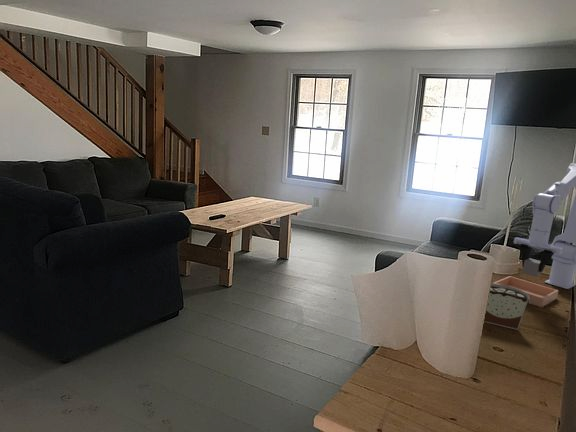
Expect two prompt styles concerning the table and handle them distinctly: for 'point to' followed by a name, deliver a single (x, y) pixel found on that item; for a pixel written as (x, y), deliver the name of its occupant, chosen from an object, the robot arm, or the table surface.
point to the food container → (506, 306)
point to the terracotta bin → (531, 290)
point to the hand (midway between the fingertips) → (532, 269)
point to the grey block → (531, 267)
